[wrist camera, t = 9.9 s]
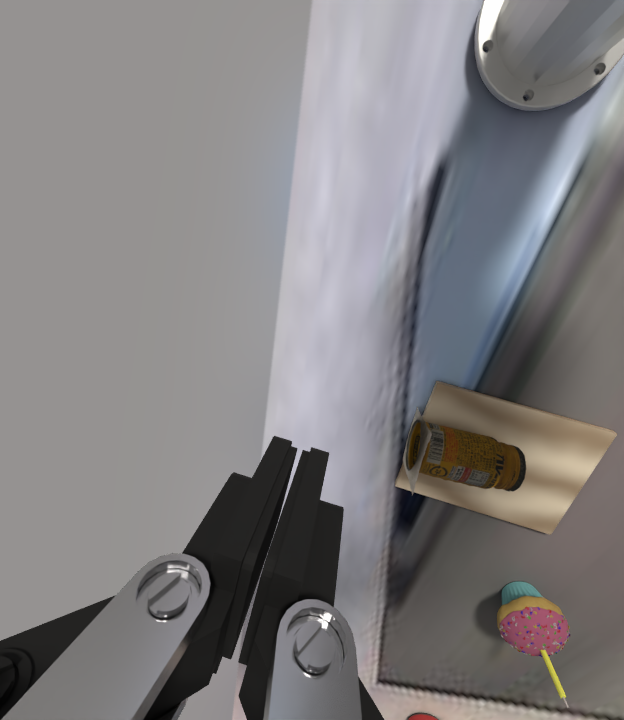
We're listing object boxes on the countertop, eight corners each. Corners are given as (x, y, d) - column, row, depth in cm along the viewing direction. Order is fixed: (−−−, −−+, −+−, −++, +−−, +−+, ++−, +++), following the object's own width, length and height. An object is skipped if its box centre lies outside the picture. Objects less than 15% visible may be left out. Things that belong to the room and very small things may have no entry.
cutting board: (436, 380, 41) (437, 382, 40) (612, 430, 39) (617, 434, 39) (394, 482, 46) (395, 486, 46) (547, 530, 45) (550, 534, 44)
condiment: (401, 457, 44) (494, 479, 43) (410, 495, 36) (526, 523, 35) (415, 405, 42) (512, 427, 41) (428, 433, 34) (550, 461, 33)
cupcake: (559, 607, 48) (616, 715, 37) (499, 619, 51) (536, 724, 40) (537, 564, 47) (590, 664, 36) (477, 578, 49) (508, 676, 38)
